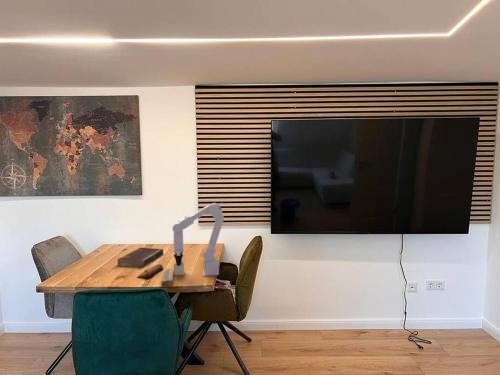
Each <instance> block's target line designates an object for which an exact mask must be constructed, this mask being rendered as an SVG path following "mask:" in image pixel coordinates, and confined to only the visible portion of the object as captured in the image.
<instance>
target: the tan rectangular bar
mask: <svg viewBox="0 0 500 375" xmlns="http://www.w3.org/2000/svg"><path fill="white" fill-rule="evenodd" d="M162 270H163V271H162V275H161V284H160V285H161V286H162V287H163V286H171V285H173V282H174V272H173V270H174V268H166V269H165V268H164V269H162Z"/></svg>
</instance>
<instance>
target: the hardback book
mask: <svg viewBox="0 0 500 375" xmlns="http://www.w3.org/2000/svg"><path fill="white" fill-rule="evenodd" d="M163 255H164V249H162V248H151V247H139V248H136V249H135V250H133V251H131V252H129V253H126V255H124V256H123V255H122V256H121V257H119V258H117V267H127V268H128V267H131V268H132V267H133V268H145V267H146V266H148V265H149V264H151V263H153V262H154V261H156V260H157V259H159V258H160V257H162V256H163Z"/></svg>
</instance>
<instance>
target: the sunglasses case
mask: <svg viewBox="0 0 500 375" xmlns="http://www.w3.org/2000/svg"><path fill="white" fill-rule="evenodd" d="M163 268H164V267H163V265H162V263H161V264H160V263H159V264H155V265H152V266H150V267H148V268H147V269H145V270H144V271H142V272H141V273H140V274H139V275H137V276H136V279H140V280H141V279H143V280H148V279H150V278H151V277H153V275H155V274H157V273H158V272H159V271H162V270H164V269H163Z"/></svg>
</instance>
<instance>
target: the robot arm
mask: <svg viewBox="0 0 500 375" xmlns="http://www.w3.org/2000/svg"><path fill="white" fill-rule="evenodd" d="M204 215H211V216H212V218H213V219H214V225H213V228H212V232H211V234H210V237H209V241H208V244H207V248H206V249H205V250H204V253H203V254H202V258H203V259H202V260H203V271H202V276H203V277H208V276H219V275H220V263H219V258H216V257H215V254H216V245H217V242H218V239H219V235H220V232H221V229H222V227H223V222H224V219H225V218H224V214H223V211H222V207H221V206H220V204H218V203H217V202H211V204H210V205H206V206H204V207H203V208H201V209H200V210H198V211H197V212H195V213H193V214H192V215H186V216H184V218H183V219H181V220H178V222H176V223H175V224H173V225H172V231H173V249H171V251H172V252H174V254H173V257H174V259H175V261H176V264H177V266H180V265H181V261H183V257H184V254H183V253H184V250H185V249H184V230H185V229H187V228H188V227H190V226H192V225H193V224H194V222H195V220H198V219H199V218H201V217H202V216H204Z"/></svg>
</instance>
